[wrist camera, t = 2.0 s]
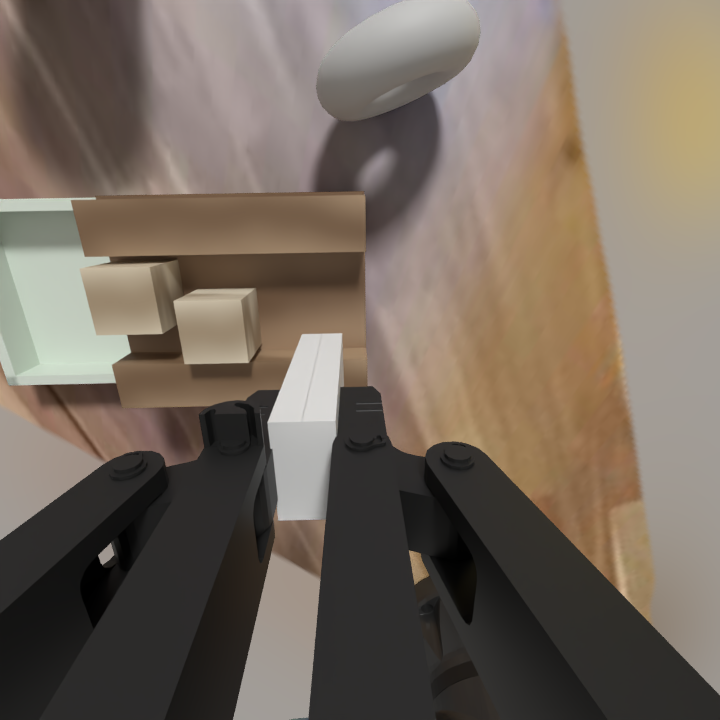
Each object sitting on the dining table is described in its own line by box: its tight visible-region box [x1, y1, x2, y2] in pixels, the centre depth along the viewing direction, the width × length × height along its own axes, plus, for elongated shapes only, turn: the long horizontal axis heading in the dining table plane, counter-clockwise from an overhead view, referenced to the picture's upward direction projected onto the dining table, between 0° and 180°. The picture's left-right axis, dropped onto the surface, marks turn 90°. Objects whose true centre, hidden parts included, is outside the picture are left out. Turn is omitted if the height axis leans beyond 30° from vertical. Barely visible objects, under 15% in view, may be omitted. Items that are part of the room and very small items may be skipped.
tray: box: [0, 198, 131, 385], centre depth 32 cm, size 14×12×3 cm
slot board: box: [71, 191, 367, 408], centre depth 30 cm, size 14×17×8 cm
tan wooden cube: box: [80, 259, 184, 335], centre depth 26 cm, size 4×4×4 cm
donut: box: [316, 0, 480, 121], centre depth 24 cm, size 10×4×10 cm, turn 110°
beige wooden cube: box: [173, 288, 262, 364], centre depth 26 cm, size 4×4×4 cm
